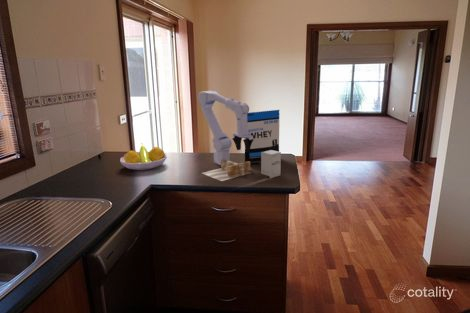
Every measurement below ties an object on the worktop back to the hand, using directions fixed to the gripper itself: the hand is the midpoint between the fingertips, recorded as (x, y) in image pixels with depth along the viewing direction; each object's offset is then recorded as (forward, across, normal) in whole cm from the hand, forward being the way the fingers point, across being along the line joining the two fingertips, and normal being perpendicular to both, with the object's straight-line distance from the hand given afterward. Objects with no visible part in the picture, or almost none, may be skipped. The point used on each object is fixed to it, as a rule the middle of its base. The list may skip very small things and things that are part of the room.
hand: (243, 150), depth 184 cm
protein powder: (+11, +4, -18) cm, 21 cm away
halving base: (+10, -1, +13) cm, 17 cm away
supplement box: (+11, -18, -3) cm, 22 cm away
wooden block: (+10, -6, +8) cm, 14 cm away
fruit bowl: (+10, +45, +38) cm, 60 cm away
